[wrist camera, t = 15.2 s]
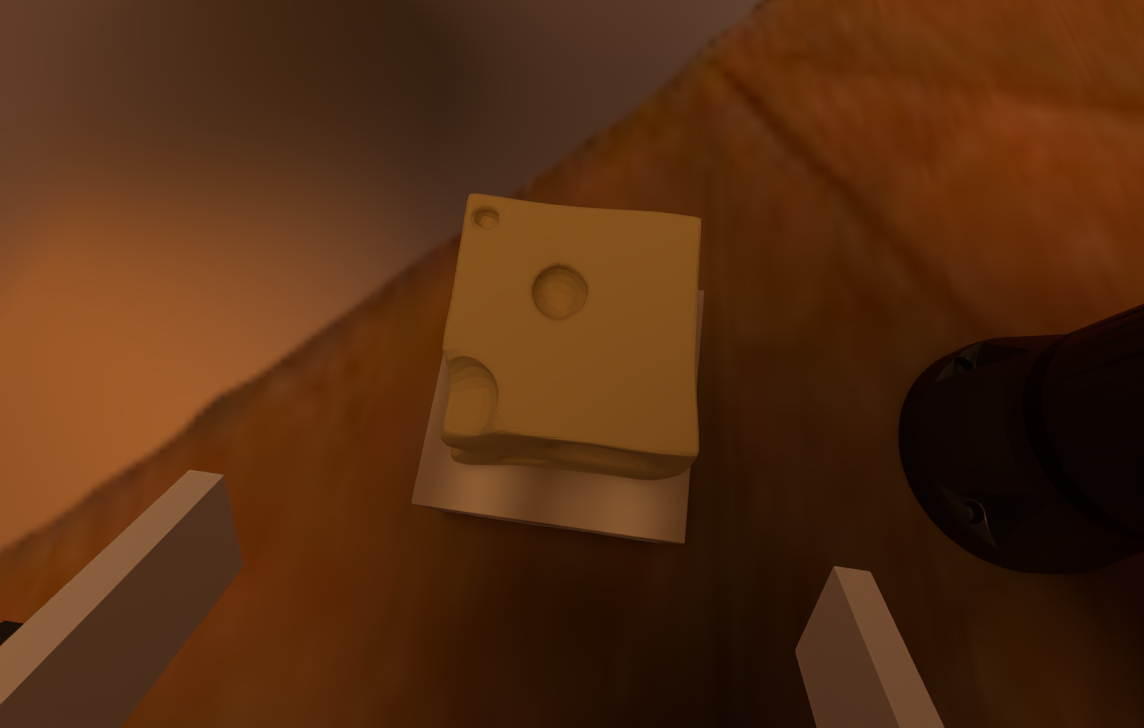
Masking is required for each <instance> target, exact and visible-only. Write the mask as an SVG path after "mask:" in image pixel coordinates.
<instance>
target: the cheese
mask: <svg viewBox="0 0 1144 728" xmlns="http://www.w3.org/2000/svg"><path fill="white" fill-rule="evenodd" d="M700 237H701V219H700V218H697V217H692V216H685V215H678V214H671V213H662V212H652V211H635V210H617V209H599V208H585V207H573V206H561V205H552V204H543V203H536V202H529V201H523V200H516V199H510V198H504V197H497V196H491V195H484V194H470V196H469V197H468V201H467V207H466V212H465V217H464V224H463V230H462V237H461V243H460V250H459V255H458V261H457V267H456V274H455V280H454V286H453V292H452V298H451V304H450V308H449V313H448V317H447V322H446V327H445V332H444V342H443V352H444V357H445V360H446V363H447V366H448V372H449V389H448V397H447V403H446V407H445V411H444V416H443V420H442V426H441V440H442V441H443V443H444V444H445V445H447V446H449V447H452V448H451V457H452V459H453V460H454V461H455V462H457V463H461V464H468V465H519V466H533V467H541V468H549V469H558V470H567V471H576V472H585V473H594V474H603V475H611V476H619V477H625V478H631V479H638V480H662V479H667V478H671V477H675V476H678V475H680V474H682V473H683V472H685V471H686V470H687V469H688V468H689V467H690V466H691V465H692V463H693V462H694V461H695V459H696V458H697V455H698V453H699V428H698V409H697V393H696V372H695V339H696V317H697V297H698V273H699V255H700Z"/></svg>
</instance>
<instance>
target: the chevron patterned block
mask: <svg viewBox="0 0 1144 728" xmlns="http://www.w3.org/2000/svg"><path fill="white" fill-rule="evenodd" d="M703 300H704V291H701V290H698V297H697V317H696V339H695V372H696V390H697V377H698V364H699V351H700V339H701V326H702V313H703ZM448 389H449V372H448V366H447V363H446V360H445V357H444V353H443V358H442V362H441V367H440V372H439V376H438V381H437V386H436V390H435V395H434V399H433V404H432V409H431V413H430V418H429V423H428V427H427V432H426V437H425V441H424V446H423V450H422V455H421V460H420V464H419V469H418V474H417V478H416V483H415V488H414V492H413V497H412V501H411V504H414V505H418V506H422V507H426V508H430V509H434V510H438V511H442V512H449V513H456V514H462V515H469V516H476V517H483V518H490V519H497V520H504V521H511V522H517V523H524V524H531V525H538V526H545V527H552V528H559V529H566V530H572V531H579V532H586V533H593V534H600V535H607V536H614V537H621V538H628V539H634V540H641V541H648V542H655V543H685V530H686V517H687V504H688V492H689V479H690V467H689V468H688V469H687V470H686V471H685V472H683V473H682V474H680V475H678V476H675V477H671V478H667V479H662V480H638V479H631V478H625V477H619V476H611V475H603V474H594V473H585V472H576V471H567V470H558V469H549V468H541V467H533V466H519V465H468V464H461V463H457V462H455V461H454V460H453V459H452V457H451V448H452V447H449V446H447V445H445V444H444V443H443V441H442V440H441V426H442V420H443V416H444V411H445V407H446V403H447V397H448Z"/></svg>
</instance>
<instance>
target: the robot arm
mask: <svg viewBox="0 0 1144 728" xmlns="http://www.w3.org/2000/svg"><path fill="white" fill-rule="evenodd" d="M900 448H901V455H902V460H903V464H904V467H905V471H906V474H907V476H908V479H909V482H910V484H911V486H912V488H913V490H914V492H915V494H916V496H917V498H918V499H919V501H920V503H921V504H922V506H923V507H924V509H925V510H926V512H927V513H928V514H929V516H930V517H931V518H932V519H933V521H934V522H935V523H936V524H937V525H938V526H939V527H940V528H941V529H942V530H943V531H944V532H945V533H946V534H947V535H948V536H949V537H950V538H952V539H953V540H954V541H955V542H956V543H958V544H959V545H960V546H962V547H963V548H965V549H966V550H968V551H969V552H971V553H972V554H974V555H976V556H978V557H980V558H982V559H984V560H986V561H988V562H990V563H993V564H995V565H998V566H1001V567H1004V568H1007V569H1011V570H1016V571H1021V572H1029V573H1044V574H1076V573H1083V572H1089V571H1093V570H1097V569H1100V568H1103V567H1106V566H1109V565H1111V564H1114V563H1117V562H1119V561H1122V560H1124V559H1127V558H1130V557H1132V556H1135V555H1137V554H1140V553H1143V552H1144V304H1142V305H1139V306H1137V307H1134V308H1132V309H1129V310H1127V311H1124V312H1121V313H1119V314H1116V315H1114V316H1111V317H1109V318H1106V319H1104V320H1101V321H1099V322H1096V323H1093V324H1091V325H1088V326H1086V327H1084V328H1082V329H1079V330H1077V331H1074V332H1072V333H1069V334H1064V335H1042V336H1021V337H1002V338H994V339H989V340H984V341H981V342H977V343H974V344H971V345H968V346H966V347H964V348H962V349H960V350H958V351H955V352H953V353H951V354H949V355H947V356H945V357H943V358H941V359H940V360H938V361H936V362H935V363H934V364H932V365H931V366H930V367H929V368H927V369H926V370H925V371H924V372H923V373H922V374H921V376H920V377H919V378H918V379H917V380H916V382H915V383H914V385H913V386H912V388H911V390H910V392H909V394H908V396H907V398H906V401H905V404H904V407H903V411H902V415H901V421H900ZM242 567H243V562H242V557H241V553H240V548H239V543H238V538H237V534H236V529H235V524H234V519H233V515H232V510H231V505H230V501H229V496H228V491H227V486H226V482H225V477H224V475H220V474H214V473H207V472H200V471H194V470H189V471H188V472H187V473H185V474H184V475H183V476H182V477H181V478H180V479H179V480H178V481H177V482H176V483H175V484H174V485H173V486H172V487H170V488H169V489H168V490H167V491H166V492H165V493H164V494H163V495H162V496H161V497H160V498H159V499H158V500H157V501H155V502H154V503H153V504H152V505H151V506H150V507H149V508H148V509H147V510H146V511H145V512H144V513H143V514H141V515H140V516H139V517H138V518H137V519H136V520H135V521H134V522H133V523H132V524H131V525H130V526H129V527H128V528H126V529H125V530H124V531H123V532H122V533H121V534H120V535H119V536H118V537H117V538H116V539H115V540H114V541H113V542H111V543H110V544H109V545H108V546H107V547H106V548H105V549H104V550H103V551H102V552H101V553H100V554H99V555H98V556H96V557H95V558H94V559H93V560H92V561H91V562H90V563H89V564H88V565H87V566H86V567H85V568H84V569H82V570H81V571H80V572H79V573H78V574H77V575H76V576H75V577H74V578H73V579H72V580H71V581H70V582H69V583H67V584H66V585H65V586H64V587H63V588H62V589H61V590H60V591H59V592H58V593H57V594H56V595H55V596H54V597H52V598H51V599H50V600H49V601H48V602H47V603H46V604H45V605H44V606H43V607H42V608H41V609H40V610H39V611H37V612H36V613H35V614H34V615H33V616H32V617H31V618H30V619H29V620H28V621H27V622H26V623H25V624H23V623H17V622H10V621H3V622H1V623H0V728H121V726H122V725H123V724H124V723H125V721H126V720H127V719H128V717H129V716H130V715H131V713H132V712H133V711H134V709H135V708H136V707H137V705H138V704H139V703H140V702H141V700H142V699H143V698H144V696H145V695H146V694H147V692H148V691H149V690H150V688H151V687H152V686H153V684H154V683H155V682H156V680H157V679H158V678H159V677H160V675H161V674H162V673H163V671H164V670H165V669H166V667H167V666H168V665H169V663H170V662H171V661H172V659H173V658H174V657H175V656H176V654H177V653H178V652H179V650H180V649H181V648H182V646H183V645H184V644H185V642H186V641H187V640H188V638H189V637H190V636H191V635H192V633H193V632H194V631H195V629H196V628H197V627H198V625H199V624H200V623H201V621H202V620H203V619H204V617H205V616H206V615H207V613H208V612H209V611H210V610H211V608H212V607H213V606H214V604H215V603H216V602H217V600H218V599H219V598H220V596H221V595H222V594H223V592H224V591H225V590H226V589H227V587H228V586H229V585H230V583H231V582H232V581H233V579H234V578H235V577H236V575H237V574H238V573H239V571H240V570H241V569H242ZM795 652H796V656H797V659H798V663H799V666H800V670H801V673H802V677H803V680H804V684H805V687H806V691H807V694H808V698H809V701H810V705H811V709H812V712H813V716H814V719H815V723H816V726H817V728H944V726H943V724H942V722H941V720H940V717H939V715H938V713H937V711H936V709H935V707H934V705H933V703H932V701H931V698H930V696H929V694H928V692H927V690H926V688H925V686H924V684H923V682H922V679H921V677H920V675H919V673H918V671H917V669H916V667H915V665H914V663H913V661H912V658H911V656H910V654H909V652H908V650H907V648H906V646H905V644H904V642H903V639H902V637H901V635H900V633H899V631H898V629H897V627H896V625H895V623H894V620H893V618H892V616H891V614H890V612H889V610H888V608H887V606H886V604H885V601H884V599H883V597H882V595H881V593H880V591H879V589H878V587H877V585H876V583H875V580H874V578H873V576H872V574H871V572H870V571H863V570H857V569H850V568H843V567H836V566H834V567H833V569H832V571H831V573H830V576H829V578H828V580H827V582H826V584H825V586H824V589H823V591H822V593H821V595H820V597H819V600H818V602H817V604H816V606H815V608H814V610H813V613H812V615H811V617H810V619H809V621H808V623H807V626H806V628H805V630H804V632H803V634H802V637H801V639H800V641H799V643H798V645H797V647H796V650H795Z"/></svg>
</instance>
